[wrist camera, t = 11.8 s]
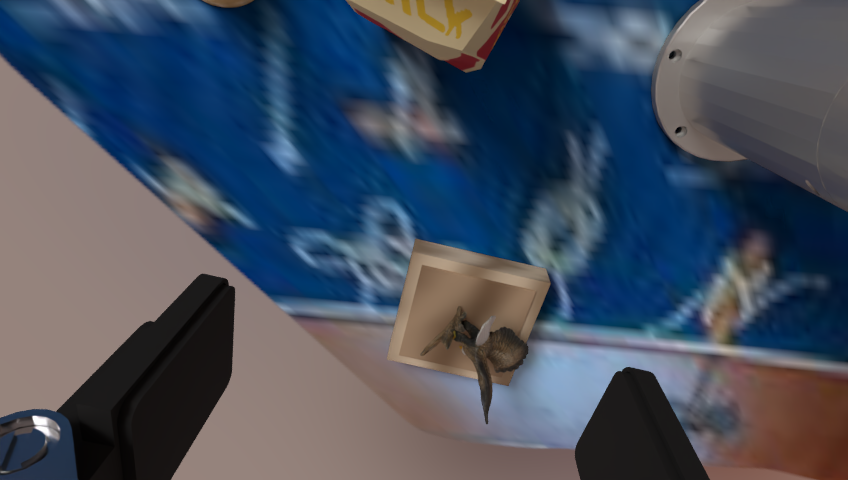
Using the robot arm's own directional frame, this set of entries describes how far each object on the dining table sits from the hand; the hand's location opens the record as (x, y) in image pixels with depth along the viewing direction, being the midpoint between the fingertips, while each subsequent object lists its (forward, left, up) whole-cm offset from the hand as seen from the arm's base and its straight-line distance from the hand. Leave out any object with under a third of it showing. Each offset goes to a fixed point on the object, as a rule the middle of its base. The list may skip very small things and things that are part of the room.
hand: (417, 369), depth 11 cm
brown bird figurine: (-8, +18, -26) cm, 32 cm away
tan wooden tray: (-6, +17, -28) cm, 34 cm away
